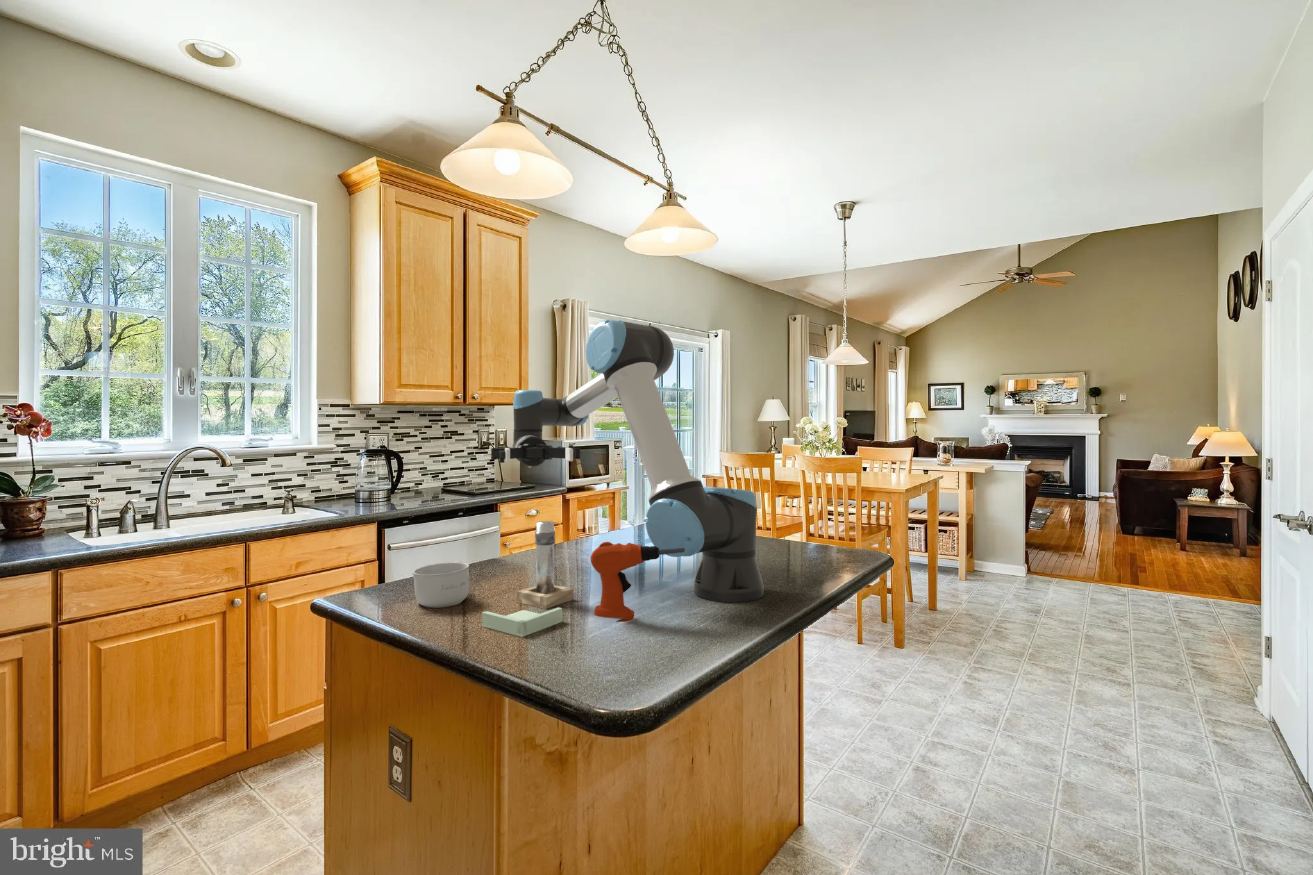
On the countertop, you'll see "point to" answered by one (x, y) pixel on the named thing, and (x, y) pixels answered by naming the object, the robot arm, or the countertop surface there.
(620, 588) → the toy drill
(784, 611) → the countertop surface
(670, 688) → the countertop surface
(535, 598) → the socket
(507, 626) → the pale green flat tray
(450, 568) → the teacup
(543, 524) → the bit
